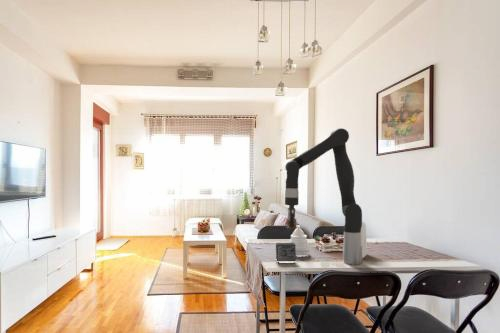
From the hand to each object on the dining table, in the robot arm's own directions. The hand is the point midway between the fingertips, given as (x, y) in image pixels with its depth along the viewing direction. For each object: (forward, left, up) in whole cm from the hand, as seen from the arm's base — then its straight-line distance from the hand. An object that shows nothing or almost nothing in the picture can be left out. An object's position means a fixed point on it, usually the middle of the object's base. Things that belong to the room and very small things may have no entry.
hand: (291, 226), depth 199 cm
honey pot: (-6, -21, -20) cm, 30 cm away
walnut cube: (0, 0, 0) cm, 0 cm away
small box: (+3, -3, -20) cm, 21 cm away
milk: (-40, -20, -20) cm, 49 cm away
